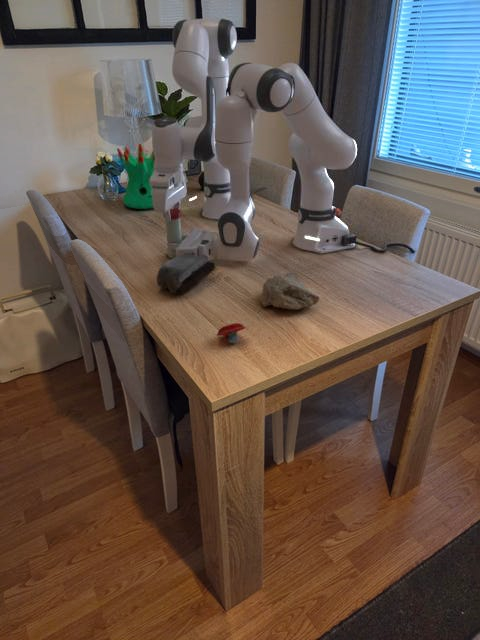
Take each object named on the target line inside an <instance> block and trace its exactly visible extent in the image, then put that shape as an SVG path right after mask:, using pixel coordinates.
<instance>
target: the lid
mask: <svg viewBox="0 0 480 640" xmlns="http://www.w3.org/2000/svg"><path fill="white" fill-rule="evenodd" d="M170 215H172V219H178V218H180V219H181V218H182V211H181V210H177V209H174V208H170ZM163 218H164V219H165V216H164V215H163Z"/></svg>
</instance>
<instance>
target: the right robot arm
mask: <svg viewBox="0 0 480 640" xmlns="http://www.w3.org/2000/svg"><path fill="white" fill-rule="evenodd" d="M228 95H229V96H228ZM226 96H227V97H224V98H223V99H221V101H220V102H219V104H218V107H217V112H216V121H215V150H216V156H217V160H218V162H219V163H220V164H221V165H222V166H223V167H224V168H226V169H228V170H229V173H230V188H231V196H230V199H229V201H228V203H227V206H226V208H225V209H224V211H223V212H222V214H221V216H220V218H219V219H217V220H218V221H217V230H218V231H211V230H210V229H204V228H193V229H192V230H191V231H190V232H189V233H187V234H181V237H182V242H181V244H175V242H170V243H169V244H167V248H168V247H169V248H171V249H175V250H176V256H179V255H181V254H183V253H185V252H187V253H193V252H194V253H195V255H194V256H195V257H198V256H202V255H206V256H207V257H208V261H209V262H211V261H213V260H222V259H226V260H229V261H237V262H249V261H252V260H254V259H255V258H256V257H257V254H258V251H259V248H260V247H259V246H260V239H259V237H257V235H256V234H255V232H254V231H253V228H252V226H251V223H252V221H253V220H254V218H255V215H256V207H255V204H254V202H253V199H252V198H251V196H250V194H251V185H250V184H251V182H250V181H251V180H250V178H251V177H250V175H251V174H250V167H251V163H252V157H253V148H254V121H255V118H256V115H257V113H258V110H259V111H264V112H266V113H278V112H281V115H283V117H284V119H285V121H286V124H287V125H288V126H289V128H290V130H291V132H292V134H291V136H290V138H289V140H288V151H289V154H290V156H291V157H292V158H293V160H294V161H295V163H296V166H297V169H298V172H299V177H300V203H299V205H298V212H297V227H296V231H295V235H294V239H293V241H292V244H293V246H295V247H296V248H298V249H300V250H305V251H309V252H314V253H317V254H327V253H333V252H337V251H343V250H349V249H353V248H355V247H356V245H358V246H360V247H366V248H369V249H371V250H373V251H374V252H376V253H379V254H383V253H386V251H387V248H388V247H403V248H405V249H407V250H409V251H410V252H411V253H412V254H415V253H416V251H415V250H414V248H412V247H411V246H409V245H408V244H405V243H401V242H400V243H399V242H393V243H385V244H384V245H383V249H378V248H377V247H375V246H374V245H371V244H368V243H363V242H361V241H357V235H355V234H354V233H350V230H349V227H348V226H347V225H346V223H344V222H343V221H342V220H341V219H340V218H339V217H337V216H341V215H342V210H341V209H340V208H337V207H335V206H333V200H334V193H335V191H334V190H335V185H334V182H333V180H332V179H331V178H330V177H329V175H328V172H327V169H328V170H347V169H349V167H350V166H352V164H353V163H354V161H355V160H356V158H357V152H358V147H357V143H356V140H355V139H354V138H352V137H351V136H349V135H348V134H346V133H345V132H344V131H343V130H342V129H341V128H340V127H339V126H338V125H336V123H335V122H334V121H333V119H332V118H331V117H330V116H329V115H328V114H327V112H326V111H325V110H324V108H323V105H322V104H321V102H320V99H319V97H318V96H317V93H316V91H315V89H314V87H313V85H312V83H311V80H310V79H309V77H308V76H307V75H306V73H305V72H304V70H303V69H302V68H301V66H299V65H298V64H297V63H295V62H287V63H283V64H281V65H280V66H278V67H273V66H270V65H267V64H264V63H263V64H262V63H259V64H258V63H252V62H242V63H239V64H236V66H234V67H233V68H232V69H231V71H230V72H229V79H228V84H227V89H226Z"/></svg>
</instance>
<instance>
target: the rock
mask: <svg viewBox="0 0 480 640" xmlns="http://www.w3.org/2000/svg"><path fill="white" fill-rule="evenodd" d="M194 255H195V253H194V252H193V253H187V252H185V253H183V254H181V255H179V256H176V257H175V258H170V259H169V260H167V261H166V262H165V263H164V264H162V265H161V267H159V269H158V271H157V274H156V284H157V286H158V287H159V288H160V289H163V290H164V289H168V290H169V291H170V292H171V293H172V294H175V295H181V294H182V293H183V292H186V291H188V290H190V289H192V288H194V287H196V286H197V285H198V284H200V282H201V281H202V280H203V279H204V278H205V277H208V276H209V275H210V274H211V273H212V272H213V271H214V270H215V268H216V265H215V263H214V262H213V261H208V257H207V256H206V255H202V256H198V257H195V256H194Z"/></svg>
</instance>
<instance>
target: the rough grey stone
mask: <svg viewBox="0 0 480 640" xmlns="http://www.w3.org/2000/svg"><path fill="white" fill-rule="evenodd" d="M260 299H261V300H260V303H261V305H262V307H264V308H266V307H269V306H273V308H281V309H288V310H293V311H294V310H296V311H297V310H302V309H303V308H310V307H312V306H314V305H316V304H318V303H319V301H320V296H318V295H316V294H315V293H314V292H312V291H311V290H310V289H308V288H307V287H306V286H305V285H304V284H303V283H302V282H301V281H300V280H299V278H298V277H297V275H296V274H295V273H294V272H289V273H285V274H282V275H281V274H280V275H278V276H277V275H273V277H269V278H268V279H267V280H266V281H265V282H264V283H263V285H262V295H261V298H260Z"/></svg>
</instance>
